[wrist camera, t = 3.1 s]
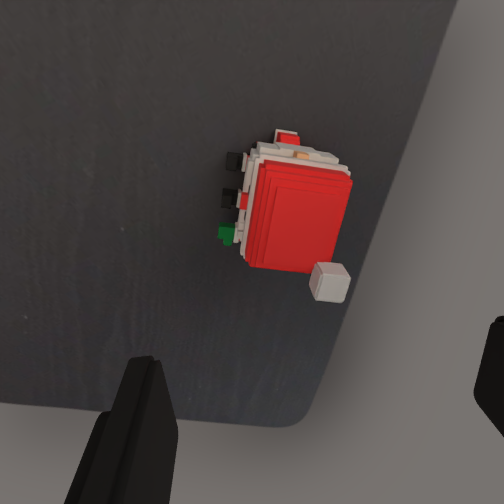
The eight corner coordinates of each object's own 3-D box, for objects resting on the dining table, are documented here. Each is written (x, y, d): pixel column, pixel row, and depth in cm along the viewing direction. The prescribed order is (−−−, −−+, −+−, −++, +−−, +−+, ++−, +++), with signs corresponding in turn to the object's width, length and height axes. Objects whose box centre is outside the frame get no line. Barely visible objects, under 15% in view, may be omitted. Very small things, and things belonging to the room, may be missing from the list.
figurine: (231, 120, 26) (233, 144, 15) (323, 135, 27) (387, 168, 16) (218, 226, 29) (211, 308, 19) (299, 237, 30) (338, 320, 19)
